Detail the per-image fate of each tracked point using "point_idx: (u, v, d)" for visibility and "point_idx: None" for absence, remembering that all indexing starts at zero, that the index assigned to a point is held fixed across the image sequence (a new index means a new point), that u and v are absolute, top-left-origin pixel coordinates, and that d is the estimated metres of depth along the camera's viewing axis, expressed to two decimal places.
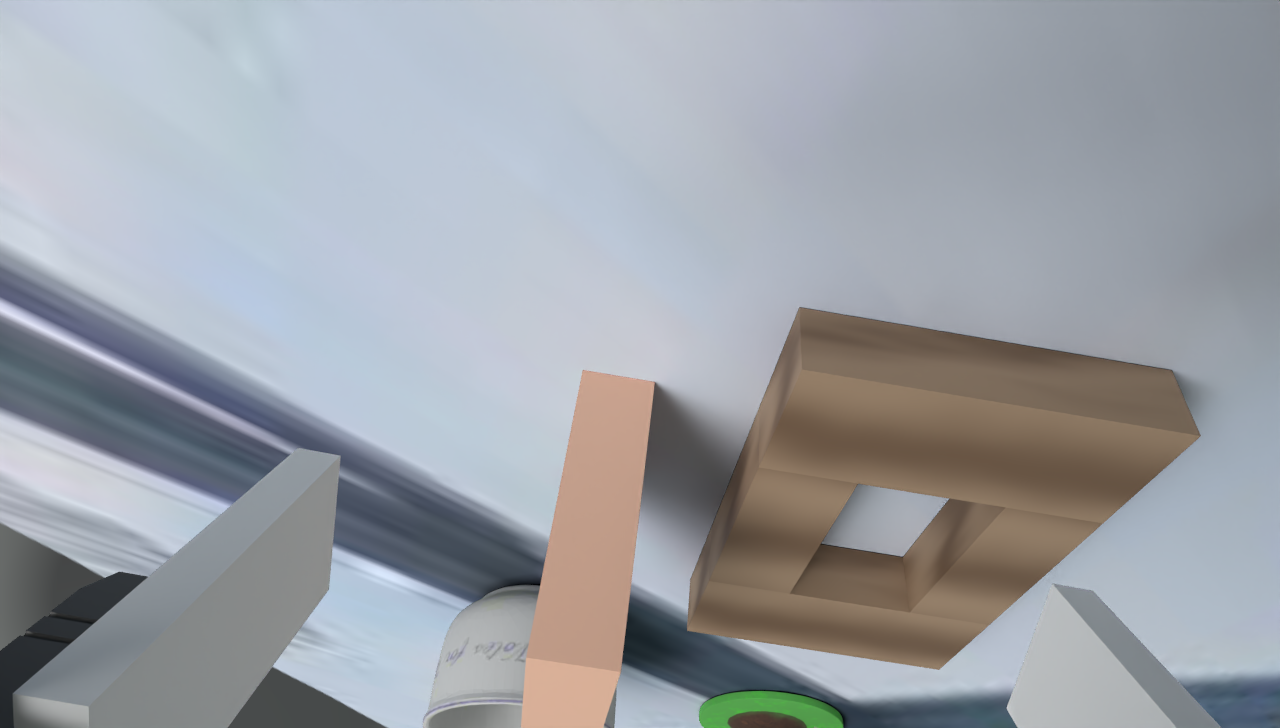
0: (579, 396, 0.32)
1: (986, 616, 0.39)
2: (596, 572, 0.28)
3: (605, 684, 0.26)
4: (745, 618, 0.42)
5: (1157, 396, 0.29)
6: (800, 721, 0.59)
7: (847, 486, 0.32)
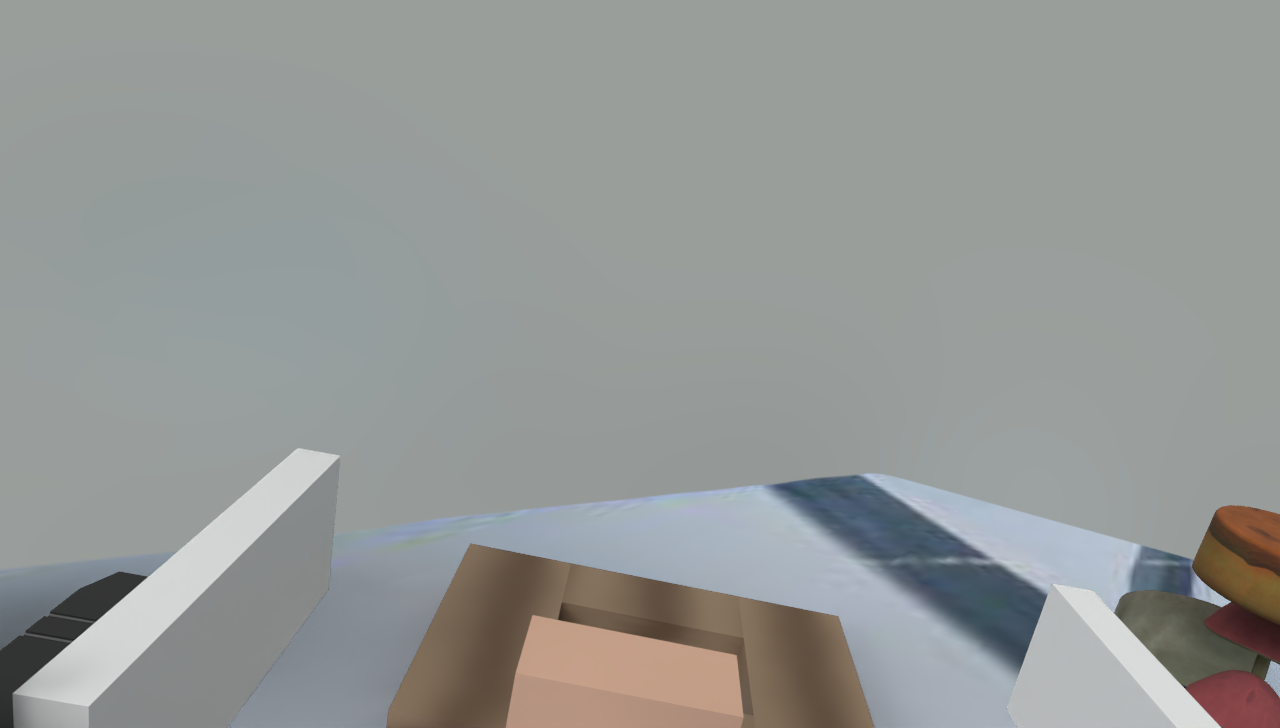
0: None
1: (725, 598, 0.47)
2: None
3: (568, 628, 0.27)
4: None
5: None
6: None
7: None
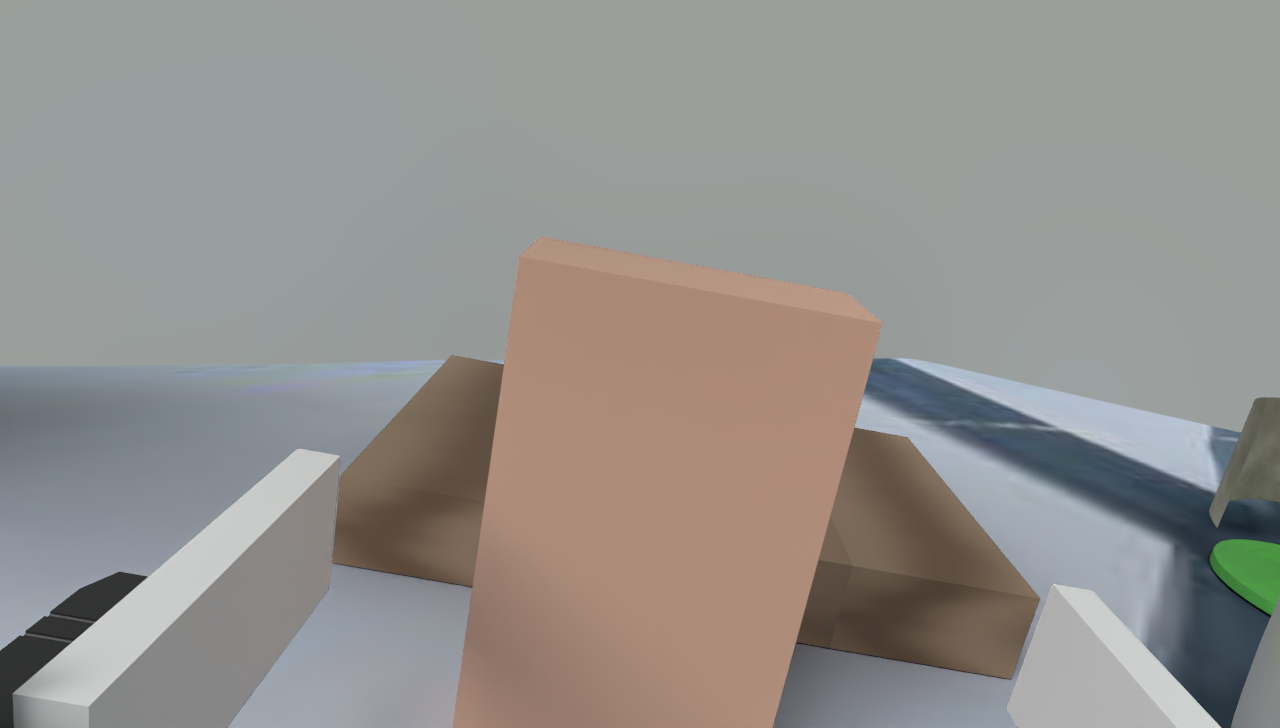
0: (454, 720, 0.18)
1: None
2: None
3: (595, 248, 0.18)
4: (933, 543, 0.28)
5: None
6: None
7: None
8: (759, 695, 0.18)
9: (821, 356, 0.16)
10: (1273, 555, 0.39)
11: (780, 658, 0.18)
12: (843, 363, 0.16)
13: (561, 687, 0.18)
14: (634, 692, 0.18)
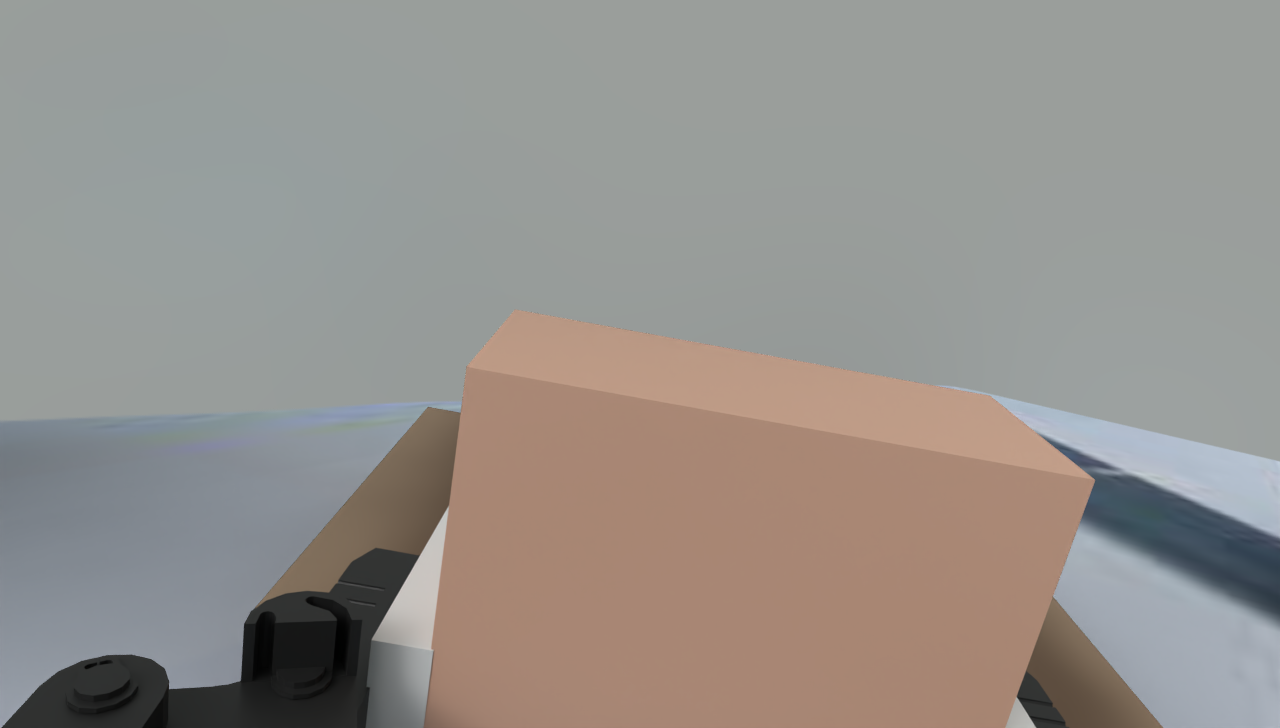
0: None
1: None
2: None
3: (599, 330, 0.11)
4: (1043, 679, 0.21)
5: None
6: None
7: None
8: None
9: (985, 534, 0.09)
10: None
11: None
12: (1022, 545, 0.09)
13: None
14: None
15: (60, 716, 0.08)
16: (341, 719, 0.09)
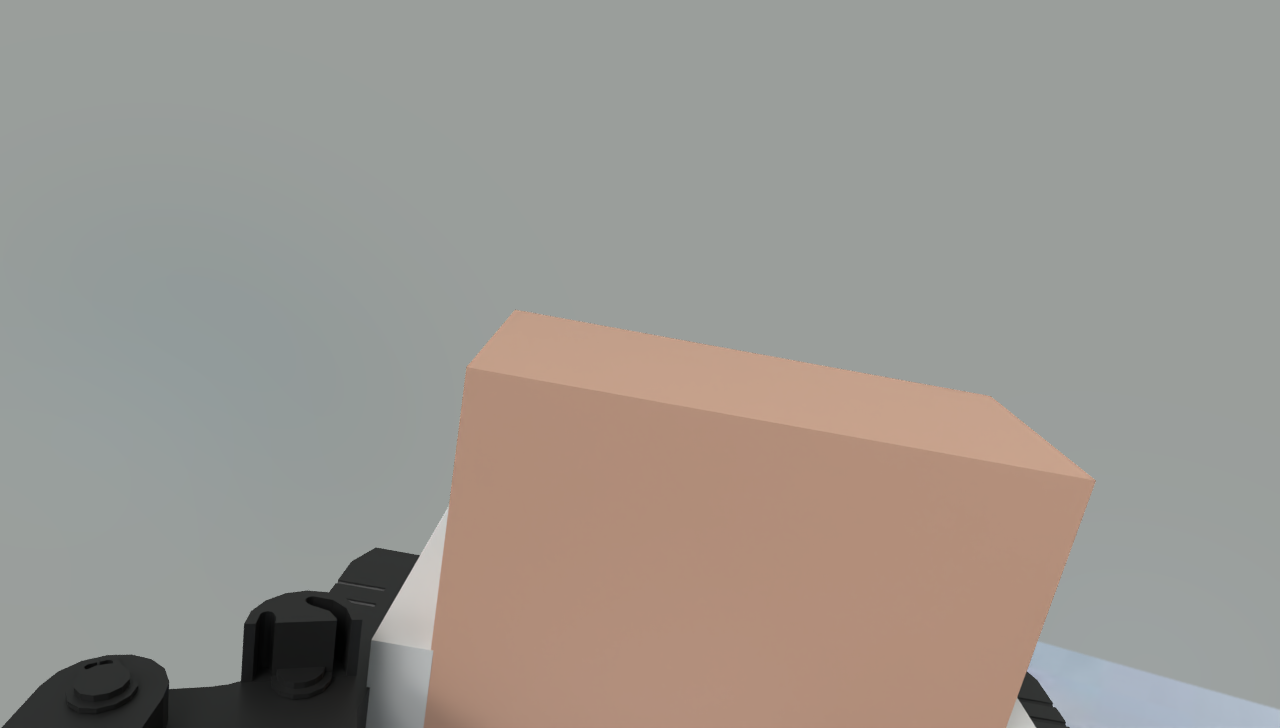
0: None
1: None
2: None
3: (599, 331, 0.11)
4: None
5: None
6: None
7: None
8: None
9: (985, 534, 0.09)
10: None
11: None
12: (1022, 546, 0.09)
13: None
14: None
15: (59, 717, 0.08)
16: (341, 719, 0.09)
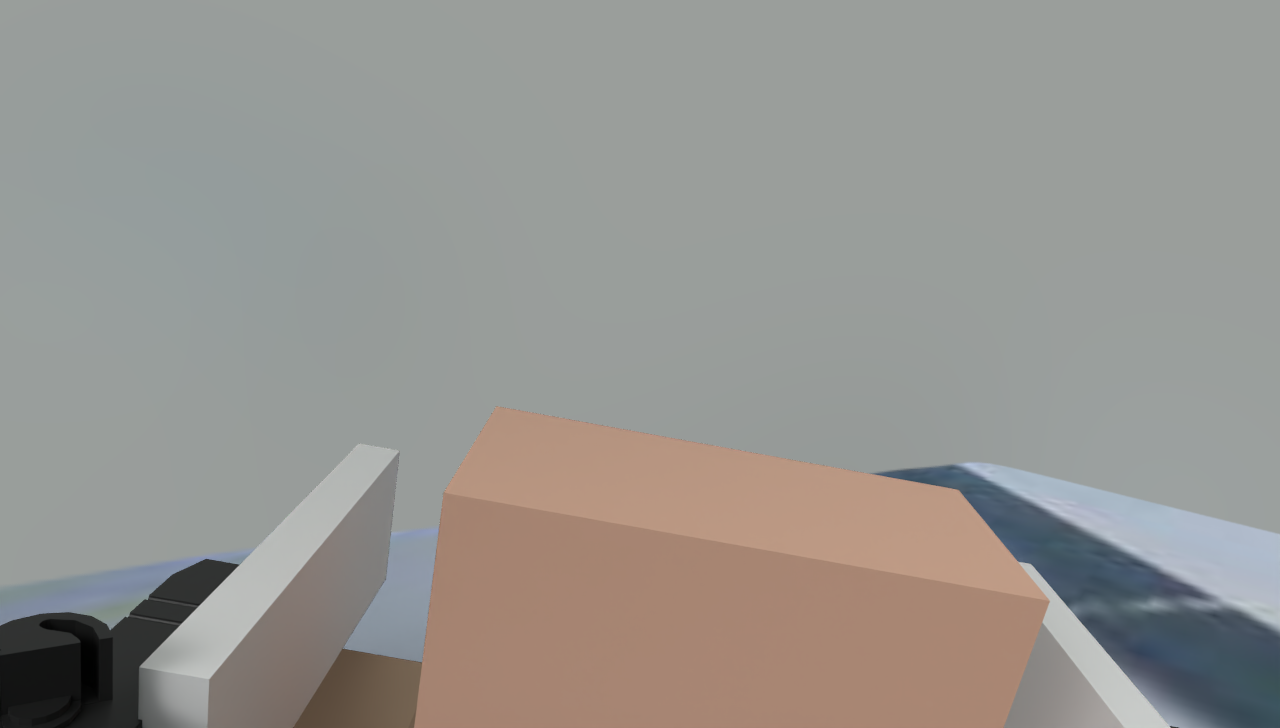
0: None
1: None
2: None
3: (578, 429, 0.12)
4: None
5: None
6: None
7: None
8: None
9: (945, 651, 0.09)
10: None
11: None
12: (980, 660, 0.10)
13: None
14: None
15: None
16: None
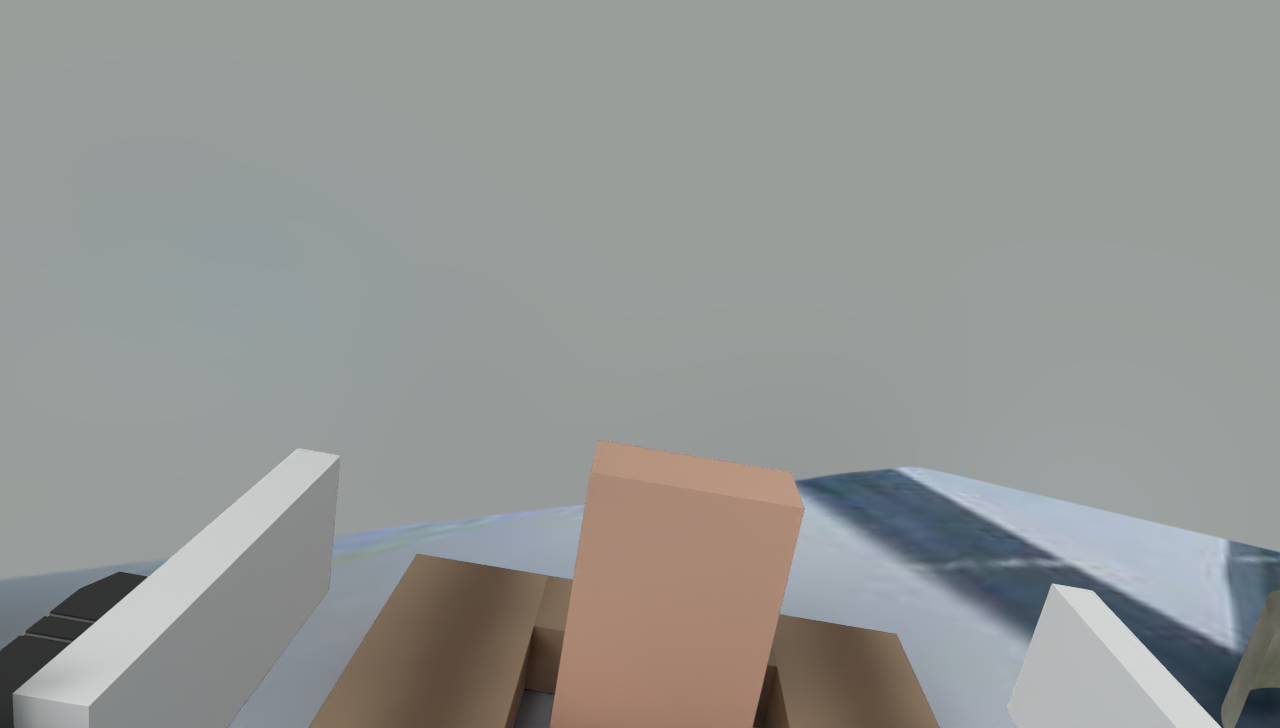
0: None
1: None
2: None
3: (632, 449, 0.29)
4: None
5: None
6: None
7: None
8: None
9: (769, 527, 0.26)
10: None
11: (750, 705, 0.28)
12: (782, 531, 0.26)
13: (614, 724, 0.29)
14: (659, 726, 0.29)
15: None
16: None
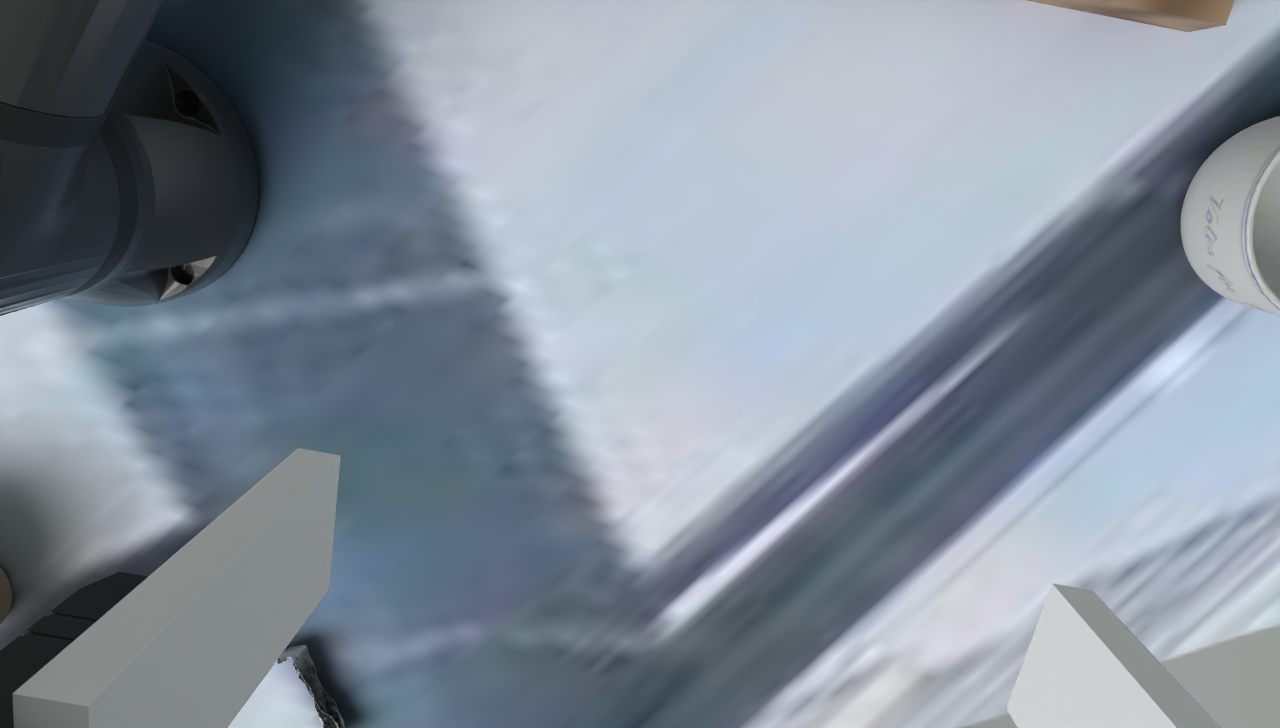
0: None
1: None
2: None
3: None
4: None
5: None
6: None
7: None
8: None
9: None
10: None
11: None
12: None
13: None
14: None
15: None
16: None
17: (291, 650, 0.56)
